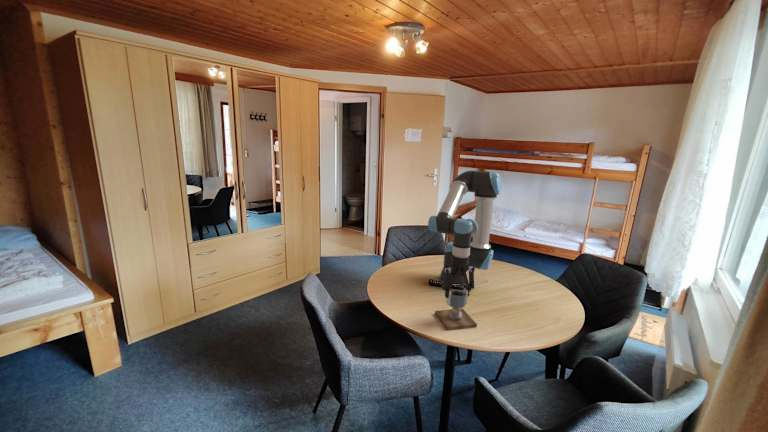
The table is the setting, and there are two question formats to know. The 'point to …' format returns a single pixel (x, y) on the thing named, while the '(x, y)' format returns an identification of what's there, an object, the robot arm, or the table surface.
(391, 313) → the table surface
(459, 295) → the collar
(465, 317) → the shaft block
